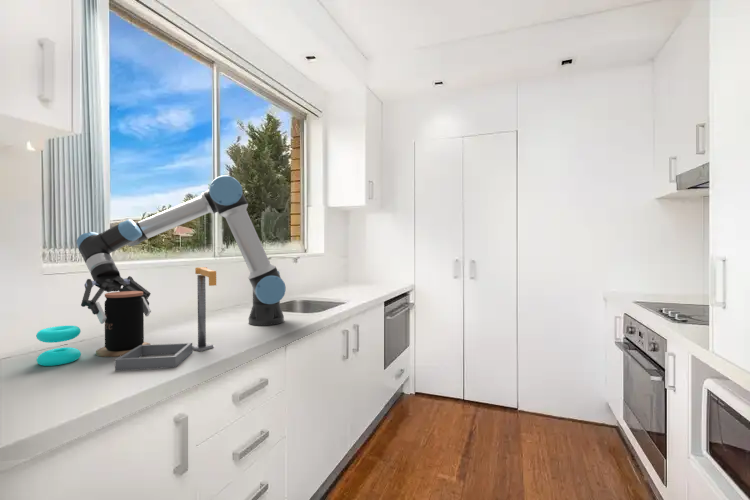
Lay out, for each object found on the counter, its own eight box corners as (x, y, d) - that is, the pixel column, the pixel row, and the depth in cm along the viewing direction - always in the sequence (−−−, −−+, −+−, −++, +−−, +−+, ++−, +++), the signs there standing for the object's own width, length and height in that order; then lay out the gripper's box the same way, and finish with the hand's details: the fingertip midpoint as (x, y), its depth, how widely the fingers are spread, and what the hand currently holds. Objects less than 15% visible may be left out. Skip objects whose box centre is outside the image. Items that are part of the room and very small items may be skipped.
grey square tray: (192, 352, 121) (192, 342, 121) (175, 367, 105) (175, 356, 105) (140, 354, 118) (139, 345, 118) (115, 370, 103) (115, 359, 103)
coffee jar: (109, 345, 126) (108, 291, 126) (146, 342, 130) (145, 290, 130) (100, 353, 116) (100, 295, 116) (141, 349, 120) (140, 293, 120)
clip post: (203, 345, 128) (203, 274, 128) (213, 347, 126) (212, 274, 125) (190, 349, 124) (189, 275, 123) (199, 351, 121) (199, 275, 121)
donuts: (74, 330, 108) (30, 333, 104) (75, 364, 108) (30, 369, 104) (84, 323, 117) (43, 326, 113) (84, 355, 117) (44, 359, 113)
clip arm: (194, 280, 125) (194, 267, 125) (206, 279, 127) (206, 267, 127) (206, 285, 107) (206, 271, 107) (219, 285, 109) (219, 270, 109)
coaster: (158, 343, 132) (158, 340, 132) (139, 355, 117) (139, 353, 117) (110, 345, 129) (110, 342, 129) (85, 358, 114) (85, 355, 114)
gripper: (137, 274, 141) (160, 318, 134) (55, 279, 120) (77, 332, 112) (144, 260, 138) (169, 304, 131) (62, 263, 117) (86, 316, 110)
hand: (127, 317), depth 122 cm, fingers open, 13 cm apart
